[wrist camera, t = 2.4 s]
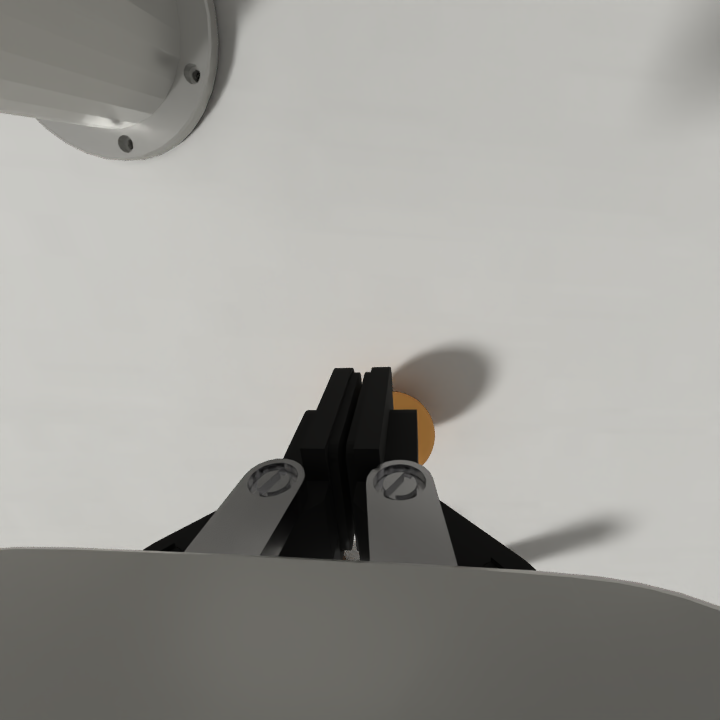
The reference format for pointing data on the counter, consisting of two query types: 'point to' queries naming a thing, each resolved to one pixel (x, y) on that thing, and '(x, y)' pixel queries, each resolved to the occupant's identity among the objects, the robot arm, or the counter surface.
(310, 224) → the counter surface
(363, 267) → the counter surface
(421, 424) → the ball
